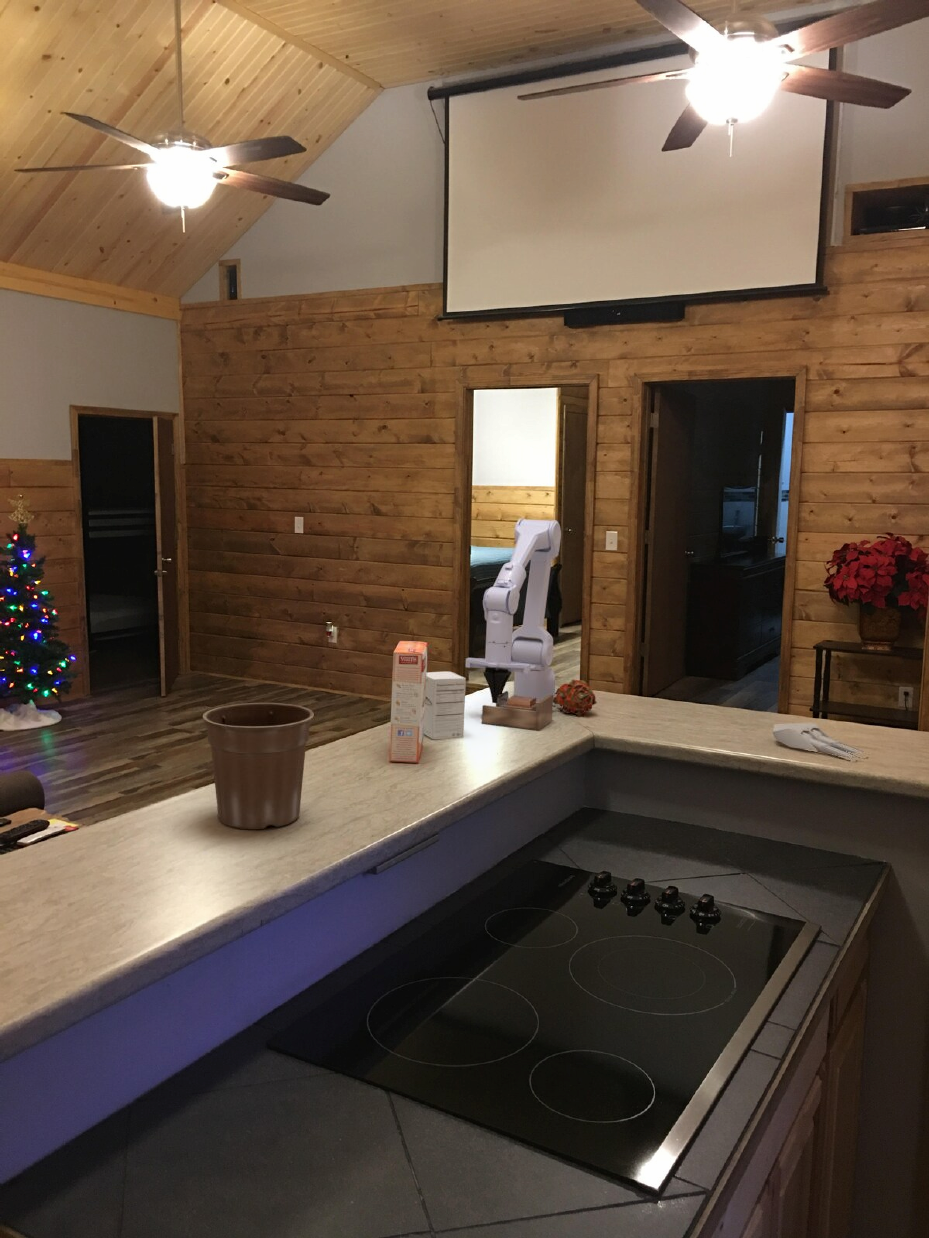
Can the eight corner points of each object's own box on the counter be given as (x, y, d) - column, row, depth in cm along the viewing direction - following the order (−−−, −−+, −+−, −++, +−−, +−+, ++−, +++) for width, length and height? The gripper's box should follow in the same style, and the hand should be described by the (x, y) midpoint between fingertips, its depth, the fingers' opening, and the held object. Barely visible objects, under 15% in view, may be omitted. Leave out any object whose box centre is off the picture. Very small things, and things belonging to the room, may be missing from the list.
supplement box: (417, 731, 209) (419, 672, 208) (449, 729, 212) (452, 670, 211) (431, 740, 203) (433, 678, 201) (464, 737, 206) (466, 677, 204)
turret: (847, 775, 197) (853, 753, 196) (759, 739, 211) (764, 718, 210) (870, 767, 204) (875, 745, 203) (783, 733, 218) (788, 712, 216)
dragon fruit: (589, 725, 227) (556, 722, 237) (611, 701, 231) (578, 698, 241) (570, 697, 224) (538, 695, 234) (593, 673, 228) (561, 671, 238)
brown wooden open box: (481, 723, 218) (482, 696, 218) (496, 714, 228) (497, 688, 227) (538, 730, 214) (540, 703, 213) (551, 721, 223) (553, 694, 222)
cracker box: (420, 764, 185) (424, 652, 182) (388, 762, 185) (391, 650, 182) (425, 745, 199) (428, 640, 196) (394, 743, 199) (398, 639, 196)
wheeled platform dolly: (495, 716, 218) (496, 695, 218) (506, 709, 225) (507, 689, 225) (528, 720, 216) (529, 699, 215) (538, 713, 223) (539, 693, 222)
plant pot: (184, 830, 145) (184, 721, 143) (225, 797, 161) (226, 699, 159) (293, 839, 143) (295, 729, 141) (324, 805, 159) (326, 705, 157)
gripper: (461, 641, 219) (459, 701, 221) (524, 647, 214) (522, 709, 216) (472, 637, 226) (470, 696, 227) (534, 642, 221) (531, 703, 222)
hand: (496, 702), depth 222 cm, fingers closed
